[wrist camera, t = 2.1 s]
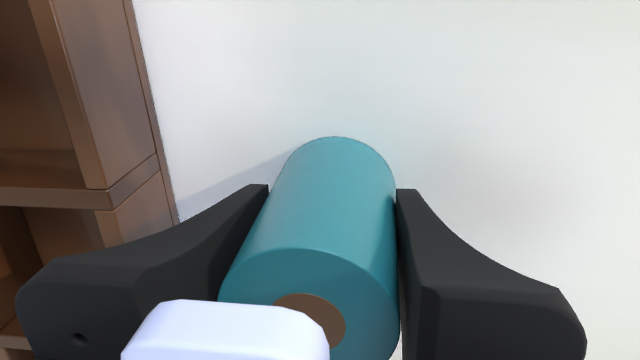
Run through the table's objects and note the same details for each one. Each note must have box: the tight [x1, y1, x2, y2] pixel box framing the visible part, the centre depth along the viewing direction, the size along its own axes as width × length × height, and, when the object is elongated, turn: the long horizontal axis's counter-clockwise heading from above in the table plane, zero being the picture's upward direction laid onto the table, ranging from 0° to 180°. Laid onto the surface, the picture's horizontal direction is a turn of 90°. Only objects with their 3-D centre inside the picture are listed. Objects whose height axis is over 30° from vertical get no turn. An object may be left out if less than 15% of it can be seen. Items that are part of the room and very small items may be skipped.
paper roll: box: [217, 137, 401, 360], centre depth 12 cm, size 4×4×6 cm
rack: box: [0, 0, 179, 360], centre depth 16 cm, size 20×7×4 cm, turn 2°
